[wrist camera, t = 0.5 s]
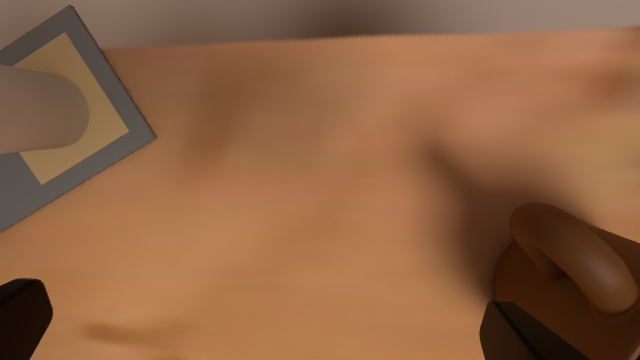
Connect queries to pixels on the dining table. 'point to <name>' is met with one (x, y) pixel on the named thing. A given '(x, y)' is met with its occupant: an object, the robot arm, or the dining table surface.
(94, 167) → the grey rectangular board
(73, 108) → the white grey banded cylinder
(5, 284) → the robot arm
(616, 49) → the dining table surface
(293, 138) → the dining table surface
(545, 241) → the mug
